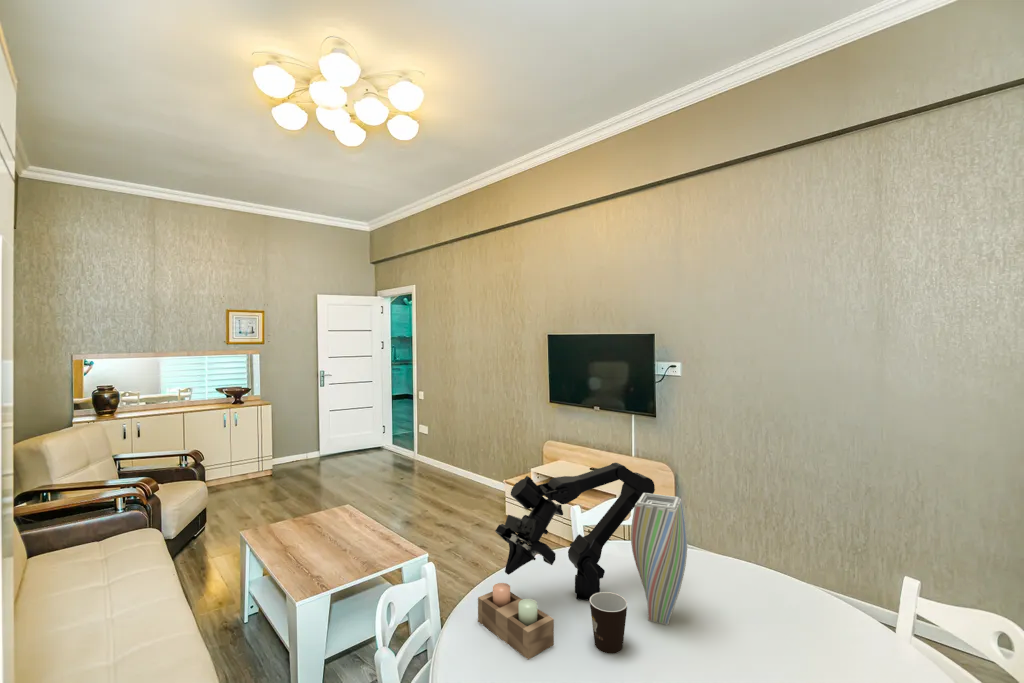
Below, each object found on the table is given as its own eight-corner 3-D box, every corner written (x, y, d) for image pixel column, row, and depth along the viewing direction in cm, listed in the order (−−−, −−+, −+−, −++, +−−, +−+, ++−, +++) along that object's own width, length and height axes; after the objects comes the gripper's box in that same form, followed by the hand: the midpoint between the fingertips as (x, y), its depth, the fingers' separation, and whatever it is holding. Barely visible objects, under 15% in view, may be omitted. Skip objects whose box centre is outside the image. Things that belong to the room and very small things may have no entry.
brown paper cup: (628, 659, 104) (628, 613, 104) (589, 654, 106) (588, 609, 106) (626, 628, 115) (626, 587, 115) (590, 624, 117) (590, 584, 117)
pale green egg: (528, 617, 113) (528, 596, 113) (541, 625, 110) (541, 604, 110) (514, 624, 110) (514, 603, 110) (527, 633, 107) (527, 611, 107)
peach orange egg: (503, 600, 121) (502, 581, 121) (513, 607, 117) (513, 587, 117) (489, 606, 118) (489, 586, 118) (500, 614, 115) (500, 593, 115)
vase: (689, 610, 123) (688, 495, 124) (685, 639, 111) (684, 511, 111) (637, 598, 129) (636, 489, 129) (627, 625, 117) (626, 504, 117)
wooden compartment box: (502, 610, 124) (502, 587, 124) (553, 644, 109) (553, 618, 109) (478, 621, 119) (478, 597, 119) (528, 659, 104) (528, 632, 104)
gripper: (500, 494, 130) (467, 544, 123) (547, 512, 116) (512, 571, 108) (522, 516, 135) (491, 566, 128) (569, 536, 120) (537, 594, 113)
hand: (506, 573), depth 119 cm, fingers closed
